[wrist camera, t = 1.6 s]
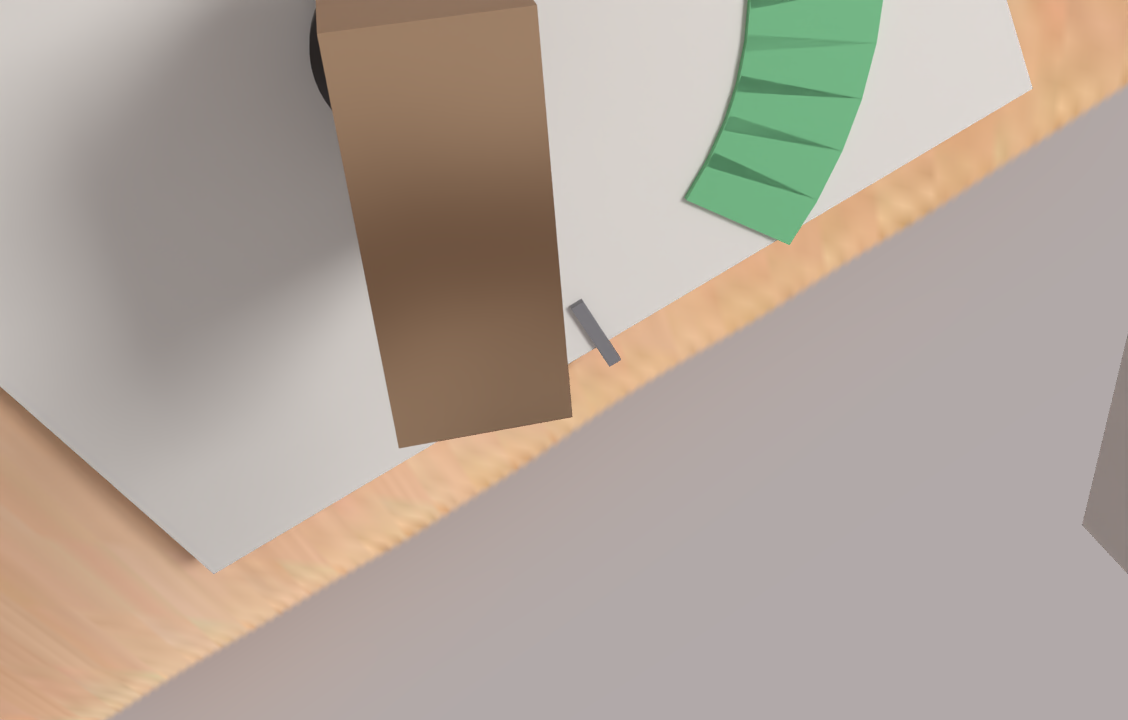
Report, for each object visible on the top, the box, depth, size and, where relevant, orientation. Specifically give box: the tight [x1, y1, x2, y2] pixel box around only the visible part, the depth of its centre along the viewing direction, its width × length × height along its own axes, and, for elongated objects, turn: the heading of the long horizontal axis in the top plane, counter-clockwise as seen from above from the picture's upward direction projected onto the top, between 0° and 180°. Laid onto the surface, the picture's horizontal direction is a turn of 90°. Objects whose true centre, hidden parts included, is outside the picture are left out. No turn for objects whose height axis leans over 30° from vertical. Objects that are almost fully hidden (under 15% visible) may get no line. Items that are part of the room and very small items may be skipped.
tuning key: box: [309, 0, 572, 448], centre depth 23 cm, size 14×4×11 cm, turn 4°
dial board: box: [0, 0, 1033, 574], centre depth 27 cm, size 22×28×2 cm
